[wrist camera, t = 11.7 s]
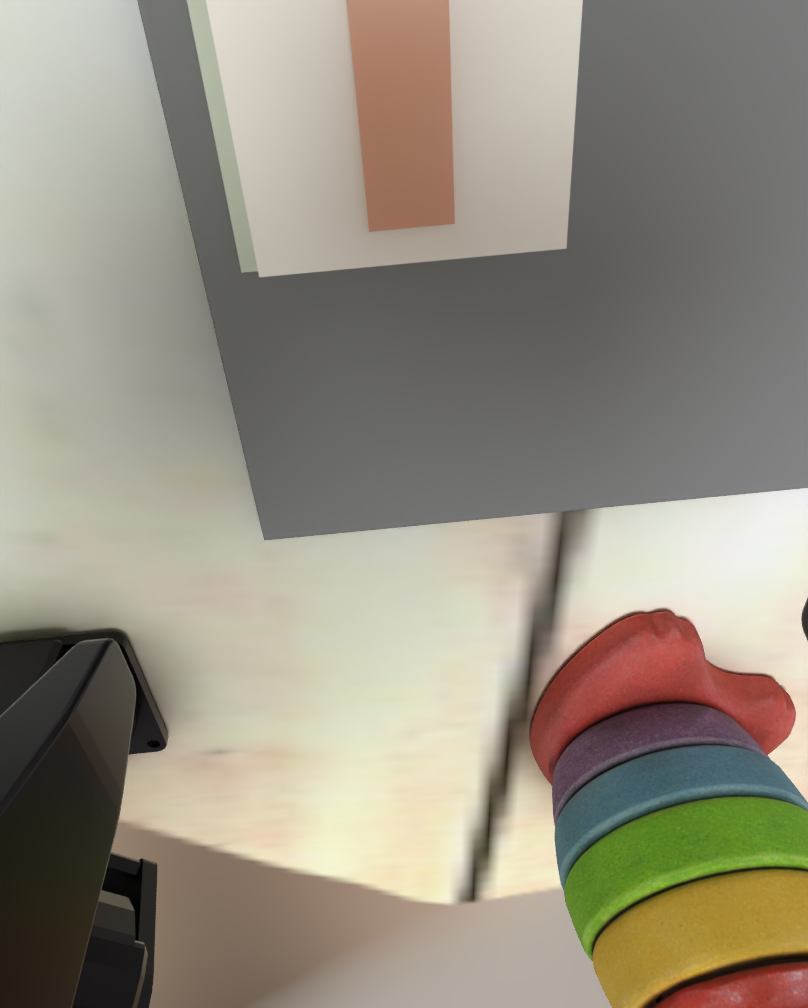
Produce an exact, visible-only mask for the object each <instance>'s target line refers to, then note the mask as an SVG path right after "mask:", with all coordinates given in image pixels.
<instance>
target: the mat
mask: <svg viewBox="0 0 808 1008" xmlns="http://www.w3.org/2000/svg"><path fill="white" fill-rule="evenodd" d="M138 5H139V9H140V13H141V18H142V22H143V26H144V30H145V35H146V39H147V43H148V47H149V52H150V56H151V60H152V64H153V69H154V73H155V77H156V81H157V86H158V90H159V94H160V98H161V103H162V107H163V111H164V115H165V120H166V124H167V128H168V132H169V137H170V141H171V145H172V149H173V154H174V158H175V162H176V166H177V171H178V175H179V179H180V183H181V188H182V192H183V196H184V201H185V205H186V209H187V213H188V218H189V222H190V226H191V230H192V235H193V239H194V243H195V247H196V252H197V256H198V260H199V264H200V269H201V273H202V277H203V281H204V286H205V290H206V294H207V298H208V303H209V307H210V311H211V315H212V320H213V324H214V328H215V332H216V337H217V341H218V345H219V349H220V354H221V358H222V362H223V367H224V371H225V375H226V379H227V384H228V388H229V392H230V396H231V401H232V405H233V409H234V413H235V418H236V422H237V426H238V430H239V435H240V439H241V443H242V447H243V452H244V456H245V460H246V464H247V469H248V473H249V477H250V481H251V486H252V490H253V494H254V498H255V503H256V507H257V511H258V515H259V520H260V524H261V528H262V533H263V537H264V540H272V539H282V538H293V537H303V536H313V535H324V534H334V533H344V532H355V531H365V530H375V529H386V528H396V527H406V526H417V525H427V524H437V523H448V522H458V521H468V520H479V519H489V518H500V517H510V516H520V515H531V514H541V513H551V512H562V511H572V510H582V509H593V508H603V507H613V506H624V505H634V504H644V503H655V502H665V501H675V500H686V499H696V498H706V497H717V496H727V495H738V494H748V493H758V492H769V491H779V490H789V489H800V488H808V0H583V5H582V20H581V35H580V50H579V65H578V80H577V96H576V111H575V126H574V141H573V156H572V172H571V187H570V202H569V217H568V232H567V247H566V249H557V250H546V251H535V252H525V253H514V254H503V255H493V256H482V257H471V258H461V259H450V260H439V261H429V262H418V263H407V264H397V265H386V266H375V267H365V268H354V269H343V270H333V271H322V272H311V273H301V274H290V275H279V276H269V277H259V274H258V269H257V263H256V258H255V253H254V248H253V243H252V237H251V232H250V227H249V222H248V217H247V211H246V206H245V201H244V196H243V191H242V186H241V180H240V175H239V170H238V165H237V160H236V154H235V149H234V144H233V139H232V134H231V128H230V123H229V118H228V113H227V108H226V102H225V97H224V92H223V87H222V82H221V76H220V71H219V66H218V61H217V56H216V51H215V45H214V40H213V35H212V30H211V25H210V19H209V14H208V9H207V4H206V0H138Z"/></svg>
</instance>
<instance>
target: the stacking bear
mask: <svg viewBox="0 0 808 1008" xmlns="http://www.w3.org/2000/svg"><path fill="white" fill-rule="evenodd" d="M795 718H796V711H795V707H794V704H793V702H792V700H791V697H790V695H789V694H788V693H787V692H786V691H785V690H783V689H782V688H780V685H779V684H778V683H777V682H776V681H775V680H773V679H770V678H767V677H763V676H746V675H736V674H730V673H727V672H723V671H721V670H719V669H717V668H715V667H714V666H712V665H711V664H710V663H708V662H707V661H706V659H705V654H704V649H703V645H702V642H701V640H700V637H699V635H698V633H697V631H696V629H695V627H694V625H693V624H691V623H690V622H688V621H685V620H682V619H679V618H677V617H676V616H675V615H674V613H672V612H669V611H666V612H657V613H651V614H638V615H634V616H631V617H628V618H626V619H624V620H621V621H619V622H617V623H616V624H614V625H613V626H611V627H610V628H608V629H607V630H605V631H604V632H603V633H601V634H600V635H599V636H597V637H596V638H595V639H594V640H592V641H591V642H590V643H589V644H588V645H586V646H585V647H584V648H583V649H582V650H581V651H580V652H579V653H578V654H577V655H576V656H575V657H574V658H573V659H571V660H570V661H569V662H568V664H567V665H566V666H565V667H564V668H563V669H562V670H561V671H560V673H559V674H558V675H557V676H556V678H555V679H554V680H553V682H552V683H551V685H550V686H549V688H548V689H547V691H546V693H545V695H544V696H543V698H542V700H541V702H540V704H539V706H538V709H537V711H536V713H535V716H534V719H533V723H532V728H531V733H530V743H531V749H532V752H533V755H534V758H535V760H536V762H537V764H538V766H539V768H540V769H541V771H542V773H543V775H544V776H545V777H546V779H547V780H548V781H549V782H550V784H551V785H552V786H553V787H552V798H553V816H554V824H555V847H556V856H557V864H558V870H559V876H560V882H561V885H562V887H563V890H564V894H565V902H566V905H567V908H568V910H569V913H570V916H571V919H572V922H573V924H574V927H575V930H576V932H577V934H578V937H579V939H580V941H581V943H582V946H583V948H584V951H585V952H586V953H587V955H588V957H589V958H590V959H591V960H592V961H593V964H594V969H595V972H596V974H597V977H598V979H599V981H600V984H601V986H602V988H603V990H604V992H605V994H606V996H607V998H608V1000H609V1002H610V1004H611V1006H612V1008H808V802H807V801H806V800H805V798H804V797H803V796H802V795H801V793H800V792H799V791H798V789H797V788H796V787H795V785H794V784H793V783H792V782H791V780H790V779H789V778H788V777H787V776H786V774H785V773H784V772H783V771H782V769H781V768H780V767H779V766H778V765H777V764H775V763H774V762H773V761H771V760H770V758H769V757H768V754H769V753H771V752H772V751H773V750H774V749H776V748H777V747H778V746H779V745H780V744H781V743H782V742H783V741H784V740H785V739H787V738H788V736H789V735H790V733H791V730H792V728H793V725H794V722H795Z"/></svg>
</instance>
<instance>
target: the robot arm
mask: <svg viewBox="0 0 808 1008" xmlns="http://www.w3.org/2000/svg"><path fill="white" fill-rule="evenodd" d="M802 627H803V630H804V633H805V635H806V638H807V640H808V598H807V601H806V603H805V606H804V609H803V612H802ZM167 741H168V733H167V730H166V728H165V726H164V723H163V721H162V719H161V716H160V714H159V712H158V710H157V707H156V705H155V703H154V700H153V698H152V696H151V693H150V691H149V689H148V686H147V684H146V682H145V679H144V677H143V675H142V672H141V670H140V668H139V665H138V663H137V661H136V658H135V656H134V654H133V651H132V649H131V647H130V644H129V642H128V640H127V639H126V637H124V636H123V635H121V634H119V633H115V632H107V633H97V634H87V635H76V636H66V637H56V638H46V639H36V640H26V641H16V642H6V643H0V1008H149V1003H150V998H151V994H152V985H153V973H154V943H155V915H156V888H157V863H155V862H152V861H149V860H146V859H140V860H139V861H138V860H135V859H131V858H128V857H125V856H122V855H119V854H116V853H113V852H111V849H112V845H113V841H114V837H115V833H116V829H117V824H118V820H119V815H120V810H121V804H122V798H123V791H124V783H125V776H126V768H127V761H128V754H137V753H147V752H157V751H161V750H163V749H165V747H166V745H167Z"/></svg>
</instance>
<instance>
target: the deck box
mask: <svg viewBox="0 0 808 1008" xmlns="http://www.w3.org/2000/svg"><path fill="white" fill-rule="evenodd" d="M206 4H207V9H208V14H209V19H210V25H211V30H212V35H213V40H214V45H215V51H216V56H217V61H218V66H219V71H220V76H221V82H222V87H223V92H224V97H225V102H226V108H227V113H228V118H229V123H230V128H231V134H232V139H233V144H234V149H235V154H236V160H237V165H238V170H239V175H240V180H241V186H242V191H243V196H244V201H245V206H246V211H247V217H248V222H249V227H250V232H251V237H252V243H253V248H254V253H255V258H256V263H257V269H258V274H259V277H269V276H279V275H290V274H301V273H311V272H322V271H333V270H343V269H354V268H365V267H375V266H386V265H397V264H407V263H418V262H429V261H439V260H450V259H461V258H471V257H482V256H493V255H503V254H514V253H525V252H535V251H546V250H557V249H566V247H567V232H568V217H569V202H570V187H571V172H572V156H573V141H574V126H575V111H576V96H577V80H578V65H579V50H580V35H581V20H582V5H583V0H206Z"/></svg>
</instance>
